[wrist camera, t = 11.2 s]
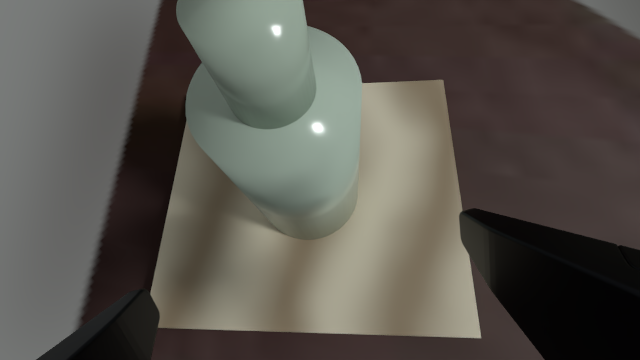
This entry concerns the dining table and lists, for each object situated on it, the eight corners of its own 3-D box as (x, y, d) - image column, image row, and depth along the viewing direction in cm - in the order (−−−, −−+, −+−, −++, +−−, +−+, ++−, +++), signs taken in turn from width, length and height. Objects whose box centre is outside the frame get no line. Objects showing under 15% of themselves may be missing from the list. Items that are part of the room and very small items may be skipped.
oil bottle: (289, 259, 19) (160, 155, 6) (246, 177, 21) (89, -20, 8) (377, 207, 19) (420, 19, 7) (327, 133, 22) (290, -111, 9)
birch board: (155, 326, 19) (143, 327, 18) (199, 100, 25) (192, 90, 24) (473, 336, 17) (481, 338, 16) (438, 90, 23) (443, 79, 22)
